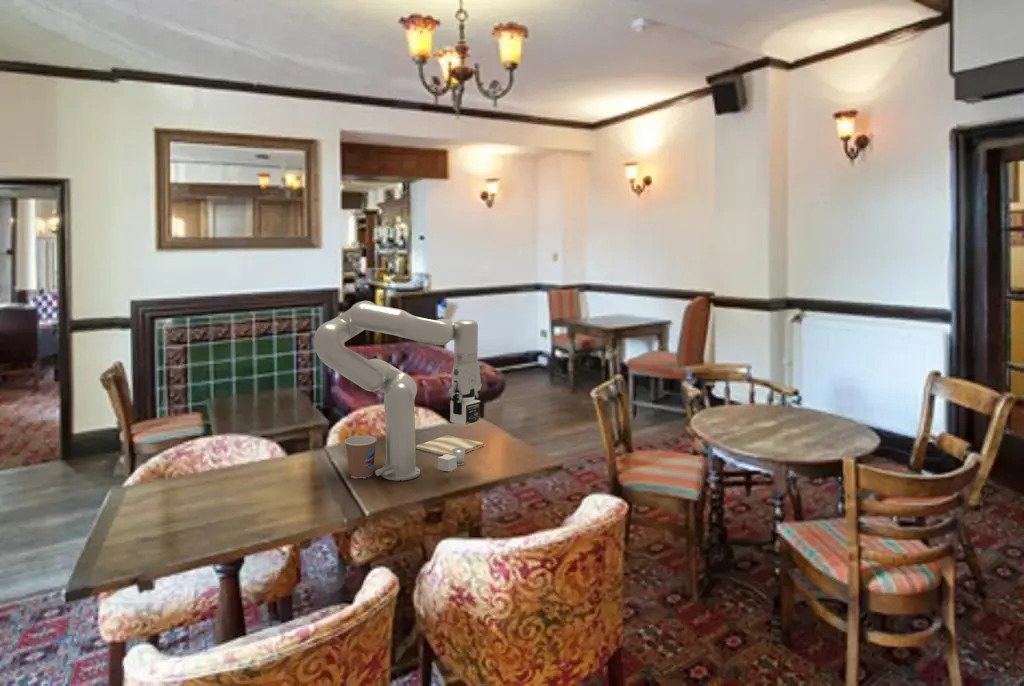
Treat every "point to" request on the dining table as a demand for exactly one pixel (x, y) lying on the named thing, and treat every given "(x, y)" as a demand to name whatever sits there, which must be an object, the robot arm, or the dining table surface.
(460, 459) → the metal canister
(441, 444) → the birch board
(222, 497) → the dining table surface
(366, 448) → the coffee cup
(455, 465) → the white cube
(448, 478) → the dining table surface
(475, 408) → the medicine bottle
